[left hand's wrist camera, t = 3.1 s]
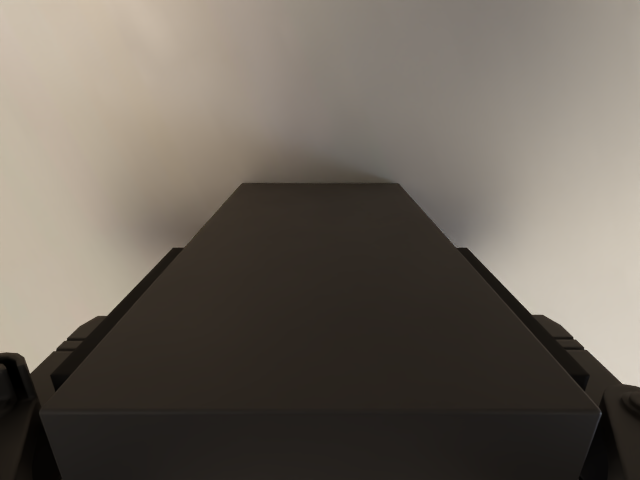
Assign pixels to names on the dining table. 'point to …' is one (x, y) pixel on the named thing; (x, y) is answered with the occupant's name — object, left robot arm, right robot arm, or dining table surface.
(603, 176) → the dining table surface
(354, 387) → the box
